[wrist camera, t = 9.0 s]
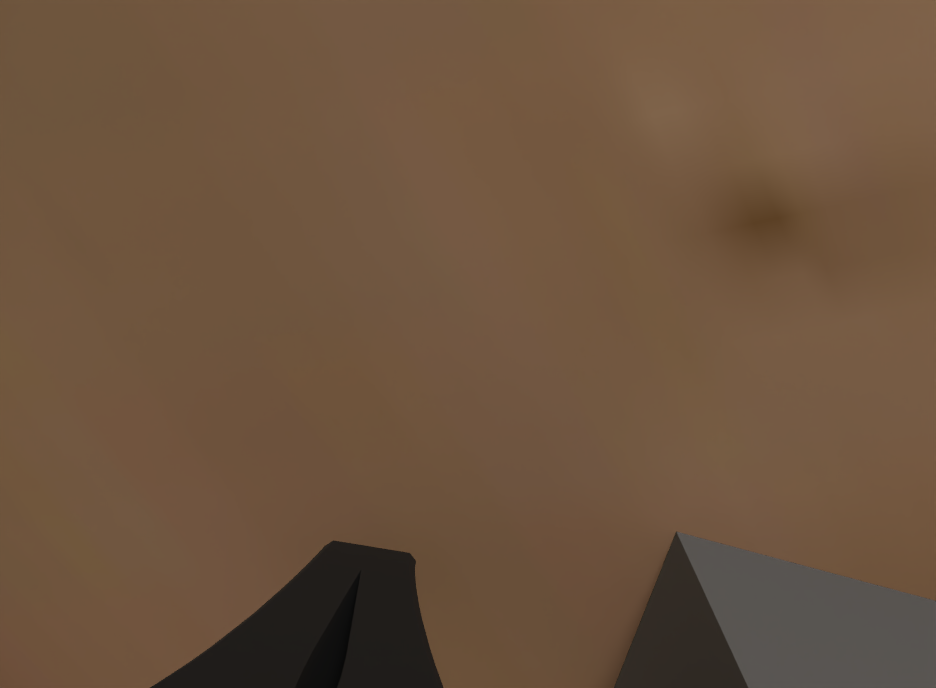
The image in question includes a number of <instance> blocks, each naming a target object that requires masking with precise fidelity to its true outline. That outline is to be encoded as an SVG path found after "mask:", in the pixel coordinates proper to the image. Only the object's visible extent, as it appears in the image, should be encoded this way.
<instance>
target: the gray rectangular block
mask: <svg viewBox="0 0 936 688" xmlns="http://www.w3.org/2000/svg"><path fill="white" fill-rule="evenodd" d="M614 688H936V601H934V600H930V599H927V598H923V597H919V596H915V595H912V594H908V593H904V592H900V591H897V590H893V589H889V588H885V587H882V586H878V585H874V584H870V583H867V582H863V581H859V580H855V579H852V578H848V577H844V576H840V575H837V574H833V573H829V572H825V571H822V570H818V569H814V568H811V567H807V566H803V565H799V564H796V563H792V562H788V561H784V560H781V559H777V558H773V557H769V556H766V555H762V554H758V553H754V552H751V551H747V550H743V549H739V548H736V547H732V546H728V545H724V544H721V543H717V542H713V541H709V540H706V539H702V538H698V537H694V536H691V535H687V534H683V533H679V532H676V534H675V536H674V539H673V541H672V544H671V546H670V549H669V551H668V554H667V556H666V559H665V561H664V564H663V566H662V569H661V571H660V574H659V576H658V579H657V581H656V584H655V586H654V589H653V591H652V594H651V596H650V599H649V601H648V604H647V606H646V609H645V611H644V614H643V616H642V619H641V621H640V624H639V626H638V629H637V631H636V634H635V637H634V639H633V642H632V644H631V647H630V649H629V652H628V654H627V657H626V659H625V662H624V664H623V667H622V669H621V672H620V674H619V677H618V679H617V682H616V684H615V687H614Z"/></svg>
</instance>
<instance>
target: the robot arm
mask: <svg viewBox="0 0 936 688" xmlns="http://www.w3.org/2000/svg"><path fill="white" fill-rule="evenodd" d="M415 563H416V561H415V559H414V558H413V557H412V555H411V554H410V553H406V552H400V551H394V550H388V549H382V548H375V547H369V546H363V545H357V544H351V543H345V542H339V541H332V542H330V543H329V544H327V545H326V546H325V547H324V548H323V549H322V550H321V551H320V552H319V553H318V554H317V555H316V556H315V557H314V558H313V559H312V560H311V561H310V562H309V563H308V564H307V565H306V566H305V567H304V568H303V569H302V570H301V571H300V572H299V573H298V574H297V575H296V576H295V577H294V578H293V579H292V580H291V581H290V582H289V583H288V584H287V585H285V586H284V587H283V588H282V589H281V590H280V591H279V592H278V593H276V594H275V595H274V596H273V597H272V598H271V599H270V600H268V601H267V602H266V603H265V604H264V605H263V606H262V607H261V608H259V609H258V610H257V611H256V612H255V613H254V614H252V615H251V616H250V617H249V618H247V619H246V620H245V621H244V622H242V623H241V624H240V625H239V626H237V627H236V628H235V629H233V630H232V631H231V632H230V633H228V634H227V635H226V636H224V637H223V638H222V639H221V640H219V641H218V642H217V643H215V644H214V645H213V646H211V647H210V648H209V649H207V650H206V651H205V652H203V653H202V654H200V655H199V656H198V657H196V658H195V659H193V660H192V661H190V662H189V663H187V664H186V665H185V666H183V667H182V668H180V669H179V670H177V671H175V672H174V673H172V674H171V675H169V676H168V677H166V678H165V679H163V680H161V681H160V682H158V683H157V684H155V685H154V686H152V687H150V688H443V685H442V682H441V680H440V677H439V674H438V671H437V669H436V666H435V663H434V660H433V657H432V653H431V650H430V647H429V643H428V640H427V636H426V632H425V629H424V625H423V621H422V617H421V613H420V608H419V603H418V597H417V591H416V583H415Z"/></svg>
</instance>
